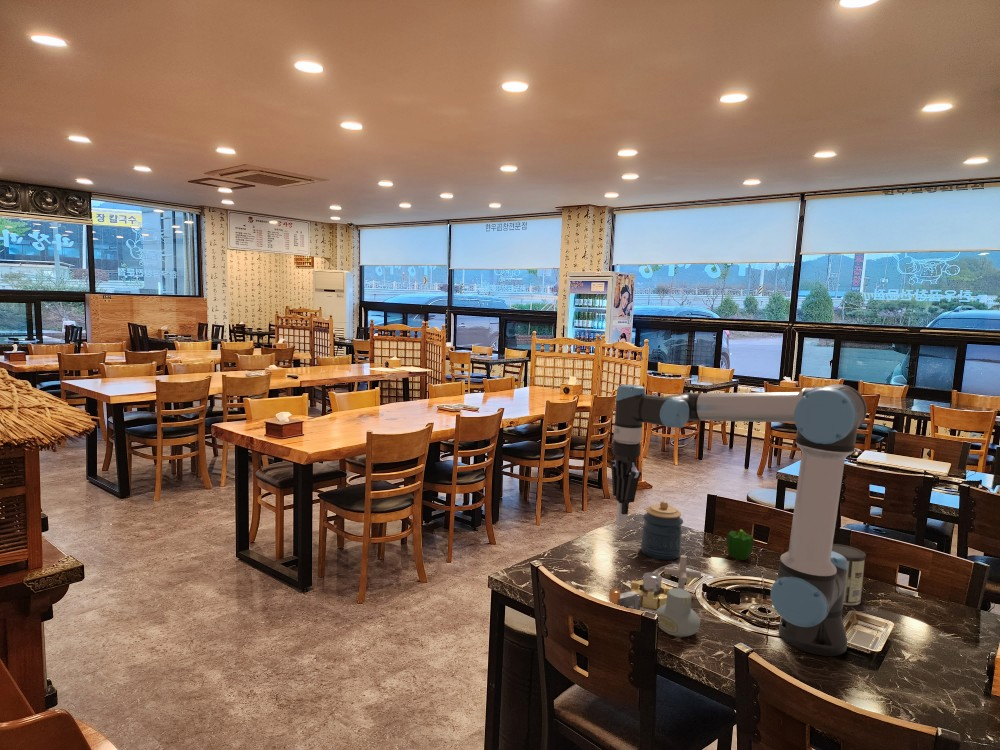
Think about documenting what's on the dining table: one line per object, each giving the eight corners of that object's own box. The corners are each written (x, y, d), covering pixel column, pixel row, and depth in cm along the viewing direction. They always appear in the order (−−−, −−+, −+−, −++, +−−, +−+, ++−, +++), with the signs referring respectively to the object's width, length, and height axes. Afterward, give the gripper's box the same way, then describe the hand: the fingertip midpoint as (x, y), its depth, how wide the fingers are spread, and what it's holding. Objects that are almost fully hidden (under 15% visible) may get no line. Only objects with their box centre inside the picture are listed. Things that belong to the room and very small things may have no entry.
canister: (685, 561, 198) (689, 508, 196) (645, 559, 198) (649, 506, 197) (674, 546, 211) (678, 496, 209) (636, 544, 211) (640, 494, 210)
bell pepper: (729, 550, 210) (731, 522, 209) (754, 556, 205) (757, 527, 204) (721, 557, 203) (724, 528, 202) (747, 564, 198) (750, 534, 197)
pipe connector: (701, 599, 172) (704, 565, 171) (664, 594, 174) (667, 560, 173) (697, 584, 182) (699, 551, 181) (662, 579, 184) (664, 547, 183)
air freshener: (648, 625, 156) (651, 588, 155) (669, 617, 161) (672, 580, 160) (684, 645, 147) (687, 606, 146) (705, 636, 152) (708, 597, 151)
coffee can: (825, 586, 185) (830, 540, 183) (864, 598, 178) (869, 551, 176) (815, 596, 177) (820, 549, 176) (855, 609, 170) (860, 560, 169)
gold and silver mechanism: (688, 609, 166) (690, 580, 165) (632, 628, 154) (635, 598, 153) (648, 588, 178) (650, 561, 177) (594, 605, 166) (596, 576, 165)
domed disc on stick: (652, 587, 175) (653, 572, 175) (680, 604, 165) (681, 588, 165) (597, 599, 166) (598, 583, 166) (623, 618, 156) (624, 601, 156)
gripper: (603, 436, 173) (598, 517, 176) (627, 446, 161) (621, 533, 164) (626, 435, 176) (621, 515, 178) (652, 446, 163) (645, 531, 166)
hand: (621, 524), depth 171 cm, fingers closed
